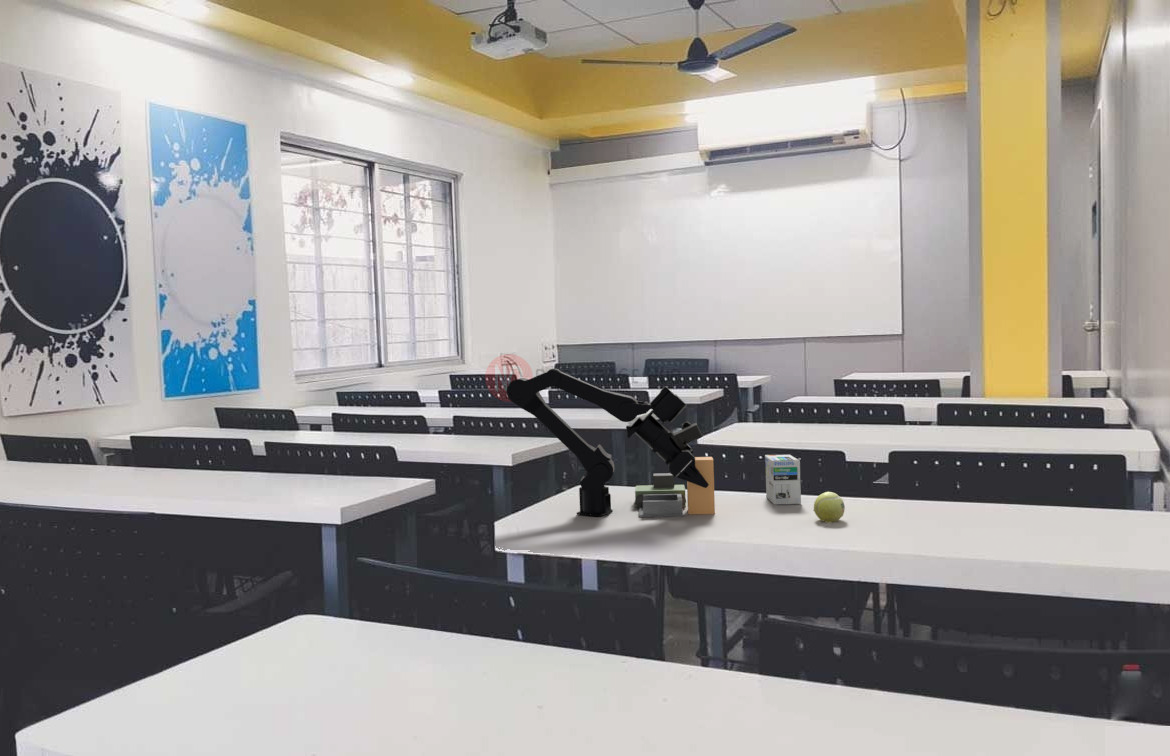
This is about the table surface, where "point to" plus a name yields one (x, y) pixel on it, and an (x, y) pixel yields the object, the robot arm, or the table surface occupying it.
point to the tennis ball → (829, 507)
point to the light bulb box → (783, 479)
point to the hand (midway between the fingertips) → (706, 483)
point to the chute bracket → (661, 505)
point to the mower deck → (659, 488)
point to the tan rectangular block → (702, 489)
